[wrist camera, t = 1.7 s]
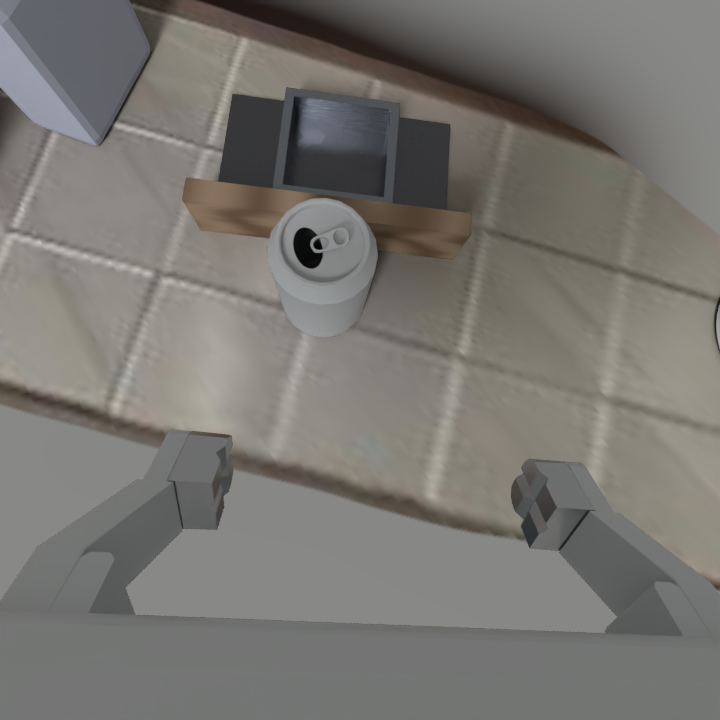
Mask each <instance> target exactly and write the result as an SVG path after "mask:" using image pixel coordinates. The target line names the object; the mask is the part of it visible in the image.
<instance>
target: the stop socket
mask: <svg viewBox="0 0 720 720" xmlns="http://www.w3.org/2000/svg"><path fill="white" fill-rule="evenodd" d="M399 108H400V103H393V102H386V101H379V100H372V99H365V98H358V97H351V96H344V95H337V94H330V93H323V92H316V91H309V90H302V89H295V88H288V87H286V93H285V100H284V101H278V100H271V99H264V98H257V97H250V96H243V95H235V94H233V95H232V101H231V107H230V113H229V119H228V125H227V132H226V138H225V144H224V150H223V156H222V162H221V168H220V175H219V181H218V182H225V183H233V184H241V185H249V186H257V187H265V188H273V189H281V190H289V191H297V192H305V193H313V194H321V195H329V196H337V197H345V198H353V199H361V200H369V201H378V202H386V203H394V204H402V205H410V206H418V207H426V208H434V209H442V210H446V198H447V178H448V157H449V137H450V124H443V123H436V122H429V121H421V120H414V119H407V118H400V117H399Z"/></svg>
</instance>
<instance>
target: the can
mask: <svg viewBox="0 0 720 720" xmlns="http://www.w3.org/2000/svg"><path fill="white" fill-rule="evenodd" d="M267 252H268V264H269V267H270V270H271V273H272V276H273V279H274V282H275V285H276V288H277V290H278V293H279V296H280V299H281V302H282V305H283V308H284V310H285V312H286V315H287V317H288V319H289V320H290V321H291V322H292V323H293V324H294V325H295V327H296V328H298V329H300V330H301V331H303V332H305V333H306V334H309V335H313V336H317V337H330V336H336V335H338V334H340V333H343V332H345V331H347V330H348V329H349V328H350V327H352V326H353V325H354V324H355V323H356V322H357V320H358V318H359V317H360V315H361V313H362V311H363V308H364V305H365V301H366V298H367V295H368V292H369V289H370V285H371V282H372V279H373V276H374V272H375V268H376V263H377V259H378V252H377V244H376V239H375V237H374V235H373V233H372V231H371V229H370V227H369V225H368V224H367V223H366V222H365V221H364V219H363V218H362V217H361V216H360V215H359V214H358V213H357V212H356V211H355V210H354V209H353V208H352V207H350V206H348V205H346V204H345V203H343V202H341V201H338V200H334V199H330V198H311V199H308V200H305V201H303V202H300V203H297V204H296V205H294V206H293V207H292V208H291V209H289V210H288V211H287V212H285V214H284V215H283V216H282V217H281V218H280V220H279V221H278V222H277V224H276V225H275V227H274V228H273V230H272V231H271V235H270V238H269V242H268V246H267Z"/></svg>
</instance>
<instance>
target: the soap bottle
mask: <svg viewBox="0 0 720 720" xmlns="http://www.w3.org/2000/svg"><path fill="white" fill-rule="evenodd" d="M149 54H150V45H149V42H148V40H147V38H146V36H145V33H144V31H143V29H142V27H141V25H140V22H139V20H138V18H137V16H136V14H135V11H134V9H133V7H132V5H131V3H130V0H0V88H1V89H2V90H3V91H4V92H5V93H6V94H7V95H8V96H9V97H10V98H11V99H12V100H13V101H14V103H15V104H16V105H17V106H18V107H19V108H20V109H21V110H22V111H23V112H24V113H25V114H26V115H27V116H28V117H29V118H30V119H31V120H32V121H33V122H35V123H36V124H38V125H39V126H41V127H44V128H46V129H49V130H52V131H55V132H57V133H60V134H63V135H66V136H68V137H71V138H74V139H77V140H79V141H82V142H85V143H88V144H91V145H93V146H98V145H99V144H100V143H101V142H102V141H103V139H104V137H105V135H106V134H107V132H108V130H109V128H110V126H111V124H112V123H113V121H114V119H115V117H116V115H117V113H118V112H119V110H120V108H121V106H122V104H123V102H124V101H125V99H126V97H127V95H128V93H129V91H130V90H131V88H132V86H133V84H134V82H135V80H136V79H137V77H138V75H139V73H140V71H141V69H142V68H143V66H144V64H145V62H146V60H147V58H148V57H149Z"/></svg>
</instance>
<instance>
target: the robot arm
mask: <svg viewBox="0 0 720 720" xmlns="http://www.w3.org/2000/svg"><path fill="white" fill-rule="evenodd" d="M716 331H717V339H718V343H719V347H720V305H719V308H718V313H717V320H716ZM232 446H233V442H232V436H231V435H225V434H216V433H206V432H197V431H184V430H175V429H172V430H171V431H170V432H169V433H168V434H167V435H166V437H165V439H164V441H163V443H162V445H161V447H160V449H159V451H158V453H157V454H156V456H155V458H154V460H153V462H152V464H151V466H150V468H149V470H148V472H147V473H146V475H145V478H144V479H143V480H140V479H137V480H135V481H134V482H132V483H131V484H129V485H128V486H127V487H125V488H123V489H122V490H120V491H119V492H118V493H116V494H115V495H113V496H112V497H110V498H109V499H107V500H106V501H104V502H103V503H101V504H100V505H98V506H97V507H95V508H94V509H92V510H91V511H90V512H88V513H86V514H85V515H84V516H82V517H81V518H79V519H78V520H76V521H75V522H73V523H72V524H70V525H69V526H67V527H66V528H65V529H63V530H61V531H60V532H58V533H57V534H55V535H54V536H52V537H51V538H49V539H48V540H47V541H45V542H43V543H42V544H40V545H39V546H38V547H37V548H36V549H35V551H34V552H33V554H32V555H31V557H30V558H29V560H28V561H27V562H26V564H25V565H24V567H23V568H22V570H21V571H20V573H19V574H18V576H17V577H16V579H15V580H14V582H13V583H12V584H11V586H10V588H9V589H8V591H7V592H6V593H5V595H4V596H3V598H2V599H1V601H0V720H720V595H719V593H718V592H717V590H716V589H715V588H714V586H713V585H712V584H711V583H710V582H709V581H708V580H706V579H705V578H704V577H702V576H701V575H700V574H699V573H697V572H696V571H695V570H693V569H692V568H691V567H689V566H688V565H687V564H685V563H684V562H683V561H681V560H680V559H679V558H678V557H676V556H675V555H674V554H672V553H671V552H670V551H668V550H667V549H666V548H664V547H663V546H662V545H661V544H659V543H658V542H657V541H655V540H654V539H653V538H651V537H650V536H649V535H647V534H646V533H645V532H644V531H642V530H641V529H640V528H638V527H637V526H636V525H634V524H633V523H632V522H630V521H629V520H628V519H627V518H625V517H624V516H623V515H621V514H620V513H615V512H613V510H612V509H611V507H610V505H609V504H608V502H607V501H606V499H605V497H604V496H603V494H602V493H601V491H600V489H599V488H598V486H597V484H596V483H595V481H594V480H593V478H592V476H591V475H590V473H589V472H588V470H587V468H586V467H585V466H584V465H583V464H582V463H578V462H565V461H563V462H561V461H552V460H538V459H528V460H526V461H525V462H524V464H523V465H522V467H521V469H522V471H523V474H522V475H520V476H518V477H517V478H515V480H514V482H513V484H512V488H511V499H512V504H513V507H514V510H515V512H516V513H517V514H518V515H519V516H520V517H522V518H523V521H522V524H521V528H522V530H523V533H524V536H525V538H526V541H527V543H528V546H529V548H532V549H542V550H554V551H560V552H559V553H560V554H561V555H562V556H563V558H564V559H565V560H566V561H567V562H568V563H569V564H570V565H571V566H572V567H573V569H574V570H575V571H576V572H577V573H578V574H579V575H580V576H581V577H582V579H583V580H584V581H585V582H586V583H587V584H588V585H589V586H590V587H591V588H592V589H593V591H594V592H595V593H596V594H597V595H598V596H599V597H600V598H601V599H602V601H603V602H604V603H605V604H606V605H607V606H608V607H609V608H610V609H611V611H612V612H613V613H614V614H615V615H616V616H617V618H616V619H615V620H614V621H613V622H612V623H611V624H610V625H609V626H607V628H606V630H605V633H586V632H561V631H560V632H559V631H534V630H511V629H485V628H460V627H437V626H436V627H435V626H410V625H408V626H407V625H385V624H359V623H333V622H332V623H331V622H307V621H282V620H280V621H279V620H255V619H231V618H205V617H179V616H154V615H151V616H150V615H135V613H134V609H133V607H132V604H131V601H130V599H129V596H128V593H127V591H126V587H127V586H128V584H130V583H131V582H132V581H133V580H134V579H135V578H136V577H137V576H138V575H139V574H140V573H141V572H142V571H143V570H144V569H145V568H146V567H147V566H148V565H149V564H150V563H151V562H152V561H153V560H154V558H156V556H158V555H159V554H160V553H161V552H162V551H163V550H164V549H165V548H166V547H167V546H168V545H169V543H171V542H172V541H173V540H174V539H175V538H176V537H177V536H178V535H179V534H180V533H181V532H182V529H207V530H217V529H218V526H219V522H220V519H221V516H222V512H223V509H224V499H223V498H224V497H223V496H224V495H226V494H227V493H228V492H229V488H230V485H231V481H232V475H233V467H234V458H233V456H232V455H231V454H230V452H231V449H232Z"/></svg>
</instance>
